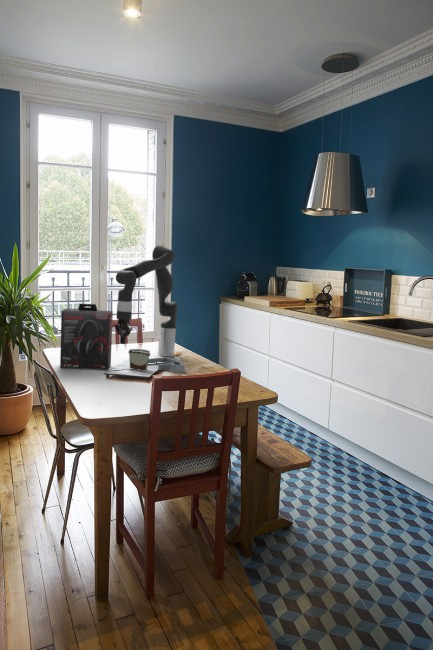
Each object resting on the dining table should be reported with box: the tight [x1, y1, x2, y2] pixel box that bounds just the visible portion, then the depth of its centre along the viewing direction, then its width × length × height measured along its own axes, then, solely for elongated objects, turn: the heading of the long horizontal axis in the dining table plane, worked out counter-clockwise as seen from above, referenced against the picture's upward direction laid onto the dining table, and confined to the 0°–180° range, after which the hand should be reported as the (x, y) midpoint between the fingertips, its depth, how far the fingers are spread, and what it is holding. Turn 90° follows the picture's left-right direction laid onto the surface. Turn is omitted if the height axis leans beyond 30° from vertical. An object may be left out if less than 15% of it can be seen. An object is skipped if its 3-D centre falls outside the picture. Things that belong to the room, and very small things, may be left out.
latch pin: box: [173, 351, 183, 364], centre depth 268 cm, size 4×4×6 cm
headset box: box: [59, 303, 114, 371], centre depth 260 cm, size 25×12×33 cm, turn 95°
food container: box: [127, 348, 151, 371], centre depth 267 cm, size 12×6×10 cm, turn 71°
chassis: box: [148, 356, 186, 374], centre depth 275 cm, size 24×16×4 cm
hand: (122, 343), depth 258 cm, fingers closed
